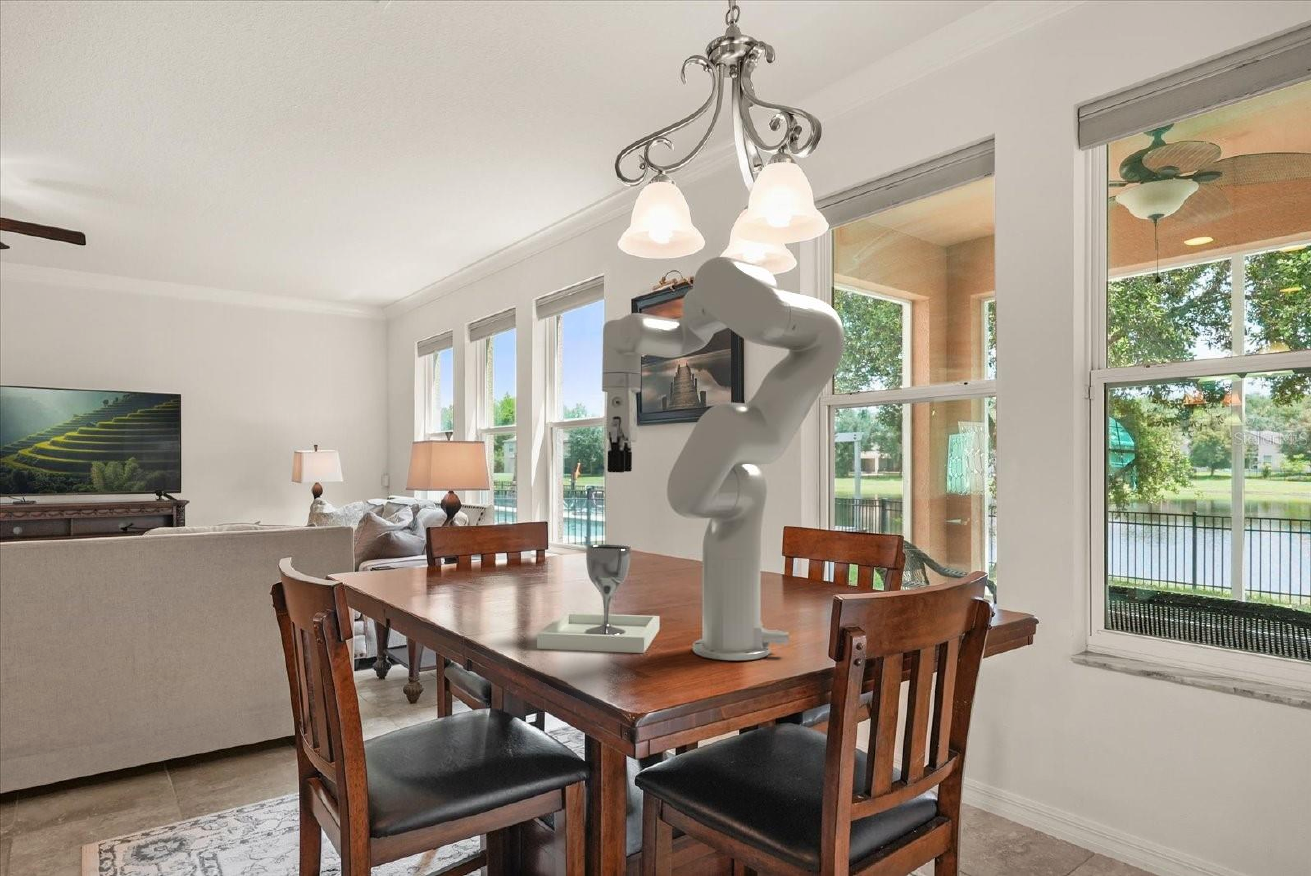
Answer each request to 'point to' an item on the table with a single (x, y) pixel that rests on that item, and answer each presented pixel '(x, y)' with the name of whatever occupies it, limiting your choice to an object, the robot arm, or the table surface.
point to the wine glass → (607, 577)
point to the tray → (573, 635)
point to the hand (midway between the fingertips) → (619, 471)
